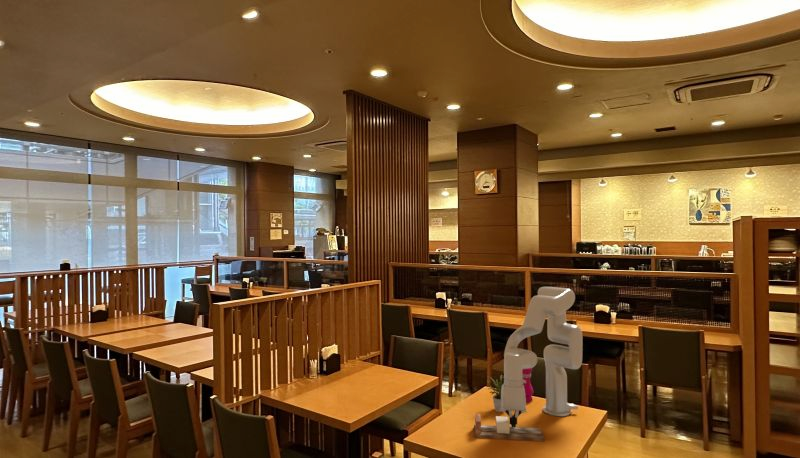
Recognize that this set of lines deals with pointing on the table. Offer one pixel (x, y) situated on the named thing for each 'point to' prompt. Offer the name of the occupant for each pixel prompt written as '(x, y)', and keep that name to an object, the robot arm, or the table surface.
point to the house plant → (498, 396)
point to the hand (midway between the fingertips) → (513, 425)
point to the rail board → (514, 433)
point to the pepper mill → (527, 384)
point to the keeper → (502, 424)
